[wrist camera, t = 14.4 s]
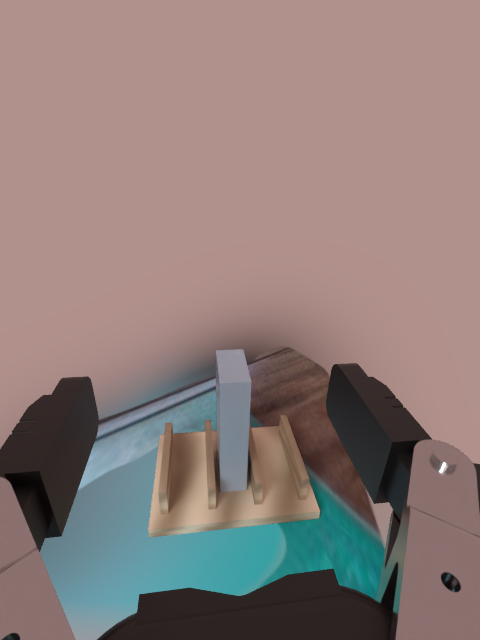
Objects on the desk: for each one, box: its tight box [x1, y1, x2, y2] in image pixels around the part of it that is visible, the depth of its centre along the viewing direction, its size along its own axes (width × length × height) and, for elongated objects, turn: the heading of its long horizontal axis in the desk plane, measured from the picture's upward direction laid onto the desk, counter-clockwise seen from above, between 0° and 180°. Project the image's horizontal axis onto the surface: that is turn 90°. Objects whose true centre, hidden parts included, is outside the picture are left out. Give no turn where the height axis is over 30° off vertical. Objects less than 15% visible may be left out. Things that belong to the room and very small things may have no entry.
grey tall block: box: [216, 349, 251, 493], centre depth 37 cm, size 3×6×15 cm, turn 7°
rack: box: [148, 415, 320, 537], centre depth 40 cm, size 18×13×4 cm
